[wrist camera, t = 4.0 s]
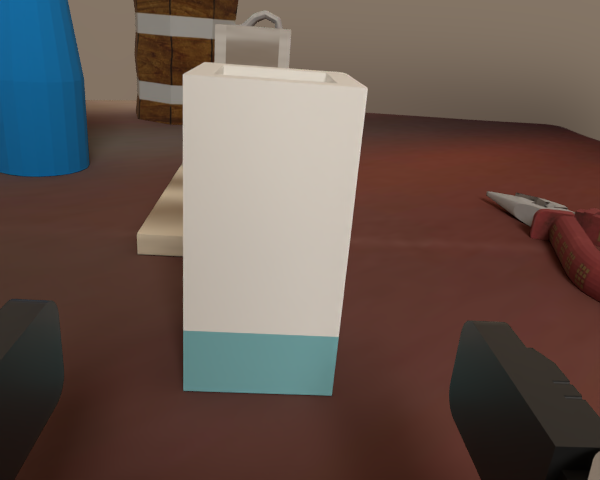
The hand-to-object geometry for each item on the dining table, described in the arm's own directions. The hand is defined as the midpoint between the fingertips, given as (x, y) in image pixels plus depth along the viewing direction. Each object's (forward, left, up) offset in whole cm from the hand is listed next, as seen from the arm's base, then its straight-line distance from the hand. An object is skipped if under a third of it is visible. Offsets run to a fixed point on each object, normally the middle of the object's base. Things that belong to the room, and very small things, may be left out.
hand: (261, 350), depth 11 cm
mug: (-30, +59, -7) cm, 67 cm away
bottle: (-30, +28, -7) cm, 42 cm away
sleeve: (-3, +9, -7) cm, 12 cm away
